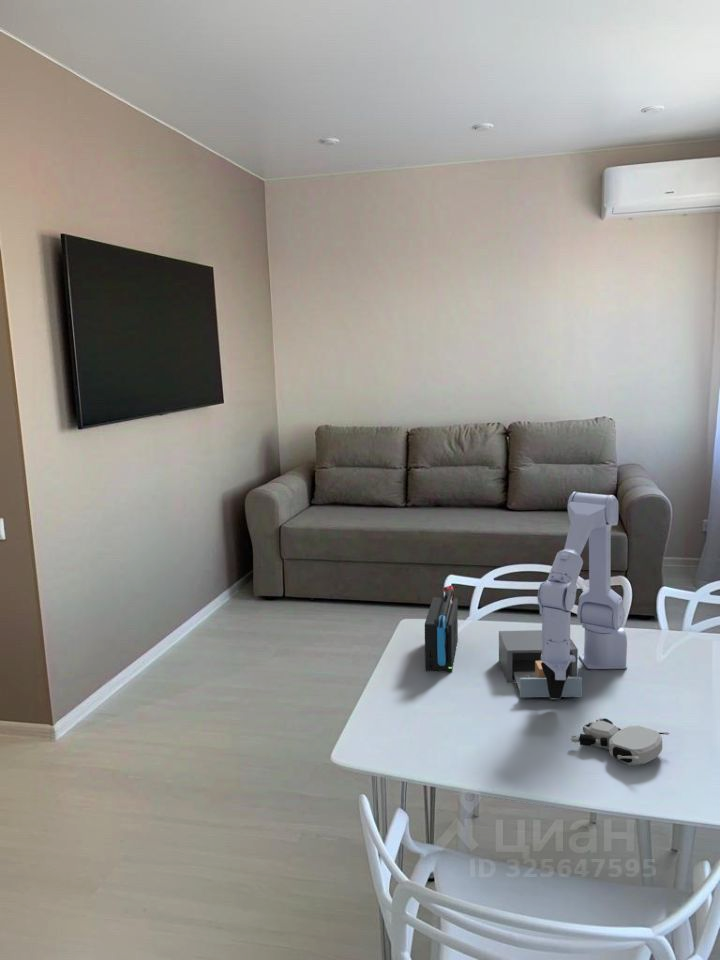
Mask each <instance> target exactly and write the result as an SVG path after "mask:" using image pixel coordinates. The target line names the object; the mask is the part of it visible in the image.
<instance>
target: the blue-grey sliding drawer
mask: <svg viewBox="0 0 720 960" xmlns="http://www.w3.org/2000/svg"><path fill="white" fill-rule="evenodd" d="M513 675H514V678H515V680H516V682H515V683H516V685H517V687H518V690H519V697H520V698H550V695H549V691H548V685H547V679H546V677H535V672H513ZM582 690H583V677H582V676H577V677H570V676H568V678H567V680H566V682H565V684H564V687H563V691H562V695H561V698H562V697H563V698H564V697H565V698H567V697H568V698H569V697H571V698H572V697H573V698H574V697H577V698H578V697H582V695H583V693H582V692H583V691H582Z"/></svg>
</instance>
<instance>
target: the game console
mask: <svg viewBox="0 0 720 960" xmlns="http://www.w3.org/2000/svg"><path fill="white" fill-rule="evenodd" d="M442 589H443V592H444V597H435V596H434V597H432V600H431V603H430V606H429V610H428V612H427V615H426V618H425V622H424V670H425V672H435V671H437V672H442V673H443V672H444V673H445V672H446V673H453V668H454V664H453V663H455V658H456V653H457V648H456V647H457V646H458V641H459V637H458V636H459V635H458V634H459V630H458V629H459V628H458V627H459V625H458V624H459V621H458V619H459V617H458V616H459V614H458V613H459V612H458V606H459V605H458V604H459V603H458V597H455V592H454V587H453V586H452V585H448V586H445V587H443V588H442Z"/></svg>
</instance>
